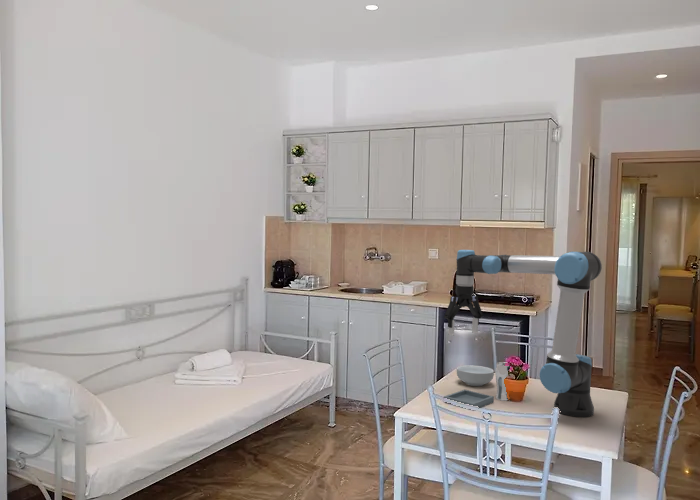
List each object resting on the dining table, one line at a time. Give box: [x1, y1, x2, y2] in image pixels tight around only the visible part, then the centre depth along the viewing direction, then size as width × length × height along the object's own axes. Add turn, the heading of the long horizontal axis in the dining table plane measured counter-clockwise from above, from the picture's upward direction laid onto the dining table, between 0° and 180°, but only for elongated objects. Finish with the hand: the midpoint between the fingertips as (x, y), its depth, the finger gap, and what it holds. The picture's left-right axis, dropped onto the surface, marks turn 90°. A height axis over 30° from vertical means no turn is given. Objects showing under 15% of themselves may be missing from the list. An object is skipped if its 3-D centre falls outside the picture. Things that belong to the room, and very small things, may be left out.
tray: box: [443, 389, 495, 408], centre depth 252 cm, size 14×16×2 cm
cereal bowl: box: [456, 364, 495, 387], centre depth 282 cm, size 17×17×7 cm
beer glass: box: [495, 361, 511, 402], centre depth 259 cm, size 7×7×15 cm
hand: (463, 334), depth 265 cm, fingers open, 13 cm apart
